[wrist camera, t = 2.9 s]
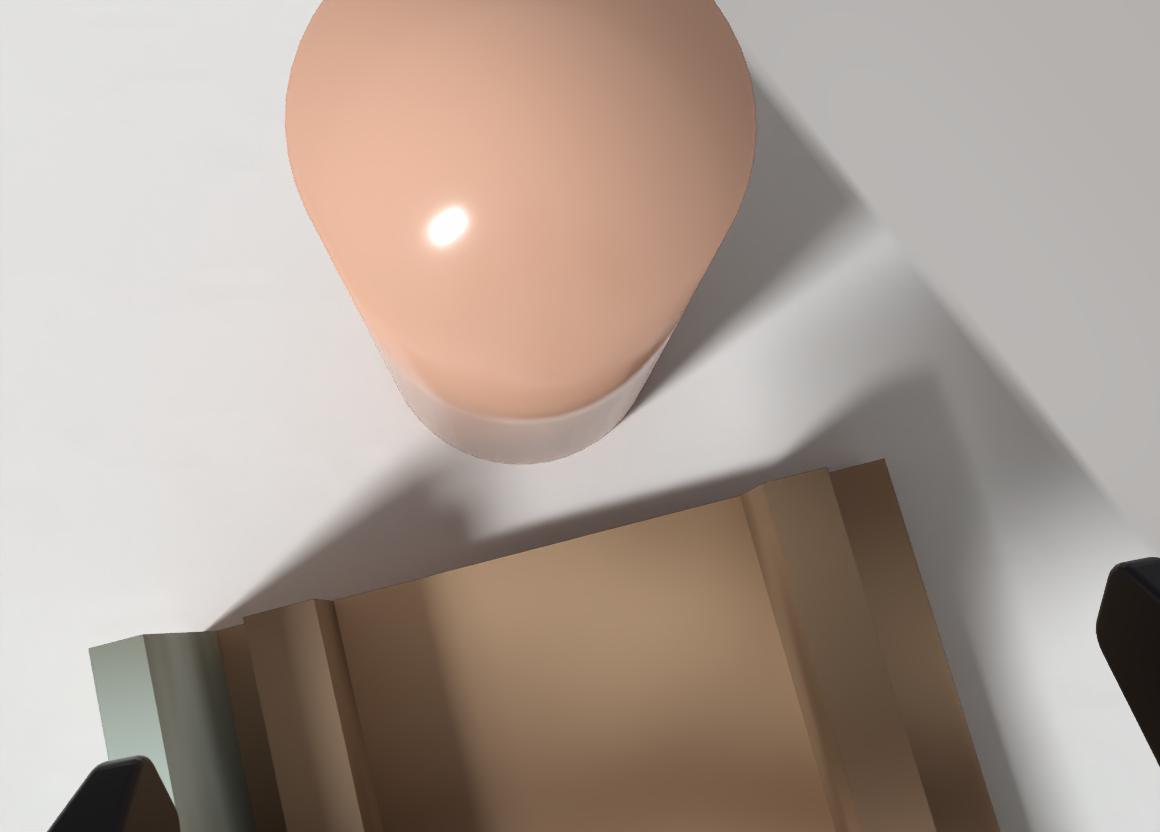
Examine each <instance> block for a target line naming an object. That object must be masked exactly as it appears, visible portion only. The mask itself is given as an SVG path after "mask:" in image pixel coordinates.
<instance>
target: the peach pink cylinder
mask: <svg viewBox="0 0 1160 832" xmlns="http://www.w3.org/2000/svg"><path fill="white" fill-rule="evenodd" d="M285 131H286V140H287V150H288V157H289V161H290V165H291V169H292V173H293V177H294V181H295V184H296V187H297V189H298V192H299V194H300V197H301V199H302V201H303V204H304V206H305V209H306V211H307V213H308V215H309V217H310V219H311V221H312V223H313V225H314V227H315V229H316V231H317V233H318V234H319V236H320V238H321V240H322V242H323V244H324V246H325V248H326V250H327V252H328V254H329V256H330V258H331V260H332V261H333V263H334V265H335V267H336V269H337V271H338V273H339V275H340V277H341V279H342V281H343V283H344V285H345V287H346V288H347V290H348V292H349V294H350V296H351V298H352V300H353V302H354V304H355V306H356V308H357V310H358V312H359V313H360V315H361V317H362V319H363V321H364V323H365V325H366V327H367V329H368V331H369V333H370V335H371V337H372V339H373V340H374V342H375V344H376V346H377V348H378V350H379V352H380V354H381V356H382V358H383V360H384V362H385V364H386V366H387V367H388V369H389V371H390V373H391V375H392V377H393V379H394V381H395V383H396V385H397V387H398V389H399V391H400V392H401V394H402V396H403V397H404V399H405V401H406V403H407V404H408V406H409V407H410V408H411V410H412V411H413V412H414V414H415V415H416V416H417V417H418V419H419V420H420V421H421V422H422V423H423V424H424V425H425V426H426V427H427V428H428V429H429V430H430V431H431V432H433V433H434V434H435V435H437V436H438V437H439V438H441V439H442V440H443V441H445V442H446V443H448V444H450V445H451V446H453V447H455V448H457V449H458V450H460V451H462V452H465V453H467V454H470V455H472V456H475V457H477V458H481V459H485V460H489V461H493V462H498V463H506V464H535V463H543V462H549V461H553V460H556V459H560V458H564V457H567V456H569V455H572V454H574V453H576V452H579V451H581V450H583V449H585V448H586V447H588V446H590V445H592V444H593V443H595V442H597V441H598V440H599V439H601V438H602V437H603V436H605V435H606V434H607V433H608V432H610V431H611V430H612V429H613V428H614V427H615V426H616V425H617V424H618V423H619V422H620V421H621V420H622V419H623V418H624V416H625V415H626V414H627V412H628V411H629V410H630V408H631V407H632V406H633V404H634V402H635V401H636V399H637V397H638V395H639V393H640V392H641V390H642V388H643V386H644V384H645V383H646V381H647V379H648V377H649V375H650V373H651V371H652V370H653V368H654V366H655V364H656V362H657V360H658V359H659V357H660V355H661V353H662V351H663V349H664V348H665V346H666V344H667V342H668V340H669V338H670V337H671V335H672V333H673V331H674V329H675V327H676V325H677V324H678V322H679V320H680V318H681V316H682V314H683V313H684V311H685V309H686V307H687V305H688V303H689V302H690V300H691V298H692V296H693V294H694V292H695V291H696V289H697V287H698V285H699V283H700V281H701V279H702V278H703V276H704V274H705V272H706V270H707V268H708V267H709V265H710V263H711V261H712V259H713V257H714V256H715V254H716V252H717V250H718V248H719V246H720V244H721V243H722V241H723V239H724V237H725V235H726V233H727V232H728V230H729V228H730V226H731V224H732V222H733V221H734V219H735V217H736V215H737V213H738V210H739V208H740V205H741V202H742V200H743V197H744V195H745V192H746V190H747V187H748V183H749V178H750V174H751V170H752V165H753V161H754V153H755V142H756V111H755V100H754V94H753V89H752V84H751V78H750V74H749V71H748V68H747V65H746V62H745V59H744V56H743V53H742V50H741V47H740V45H739V43H738V41H737V39H736V37H735V35H734V33H733V31H732V29H731V27H730V25H729V23H728V21H727V20H726V18H725V17H724V15H723V13H722V12H721V10H720V9H719V7H718V6H717V5H716V3H715V1H714V0H323V2H322V3H321V4H320V6H319V7H318V9H317V10H316V12H315V13H314V15H313V17H312V19H311V21H310V23H309V25H308V27H307V29H306V31H305V33H304V35H303V37H302V39H301V41H300V44H299V47H298V50H297V53H296V56H295V59H294V62H293V65H292V68H291V73H290V78H289V84H288V89H287V95H286V112H285Z"/></svg>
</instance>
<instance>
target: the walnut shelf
mask: <svg viewBox="0 0 1160 832" xmlns="http://www.w3.org/2000/svg"><path fill="white" fill-rule="evenodd" d="M243 619H244V624H242V625H238V626H234V627H230V628H227V629H223V630H219V631H210V632H188V633H166V634H144V635H139V636H135V637H131V638H127V639H124V640H120V641H116V642H112V643H108V644H104V645H100V646H96V647H92V648H89V654H90V660H91V665H92V671H93V676H94V682H95V687H96V693H97V699H98V704H99V710H100V715H101V721H102V726H103V732H104V737H105V743H106V748H107V754H108V760H109V761H111V760H116V759H121V758H126V757H131V756H136V755H144V756H146V757H148V758H149V759H150V760H151V761H152V763H153V764H154V766H155V768H156V770H157V772H158V774H159V776H160V778H161V780H162V782H163V784H164V786H165V788H166V790H167V792H168V794H169V795H170V797H171V799H172V801H173V803H174V805H175V808H176V810H177V813H178V817H179V822H180V831H181V832H1000V830H999V826H998V823H997V820H996V817H995V814H994V810H993V807H992V804H991V801H990V797H989V794H988V791H987V788H986V785H985V781H984V778H983V775H982V772H981V768H980V765H979V762H978V759H977V756H976V752H975V749H974V746H973V743H972V740H971V736H970V733H969V730H968V727H967V723H966V720H965V717H964V714H963V711H962V707H961V704H960V701H959V698H958V694H957V691H956V688H955V685H954V682H953V678H952V675H951V672H950V669H949V665H948V662H947V659H946V656H945V653H944V649H943V646H942V643H941V640H940V636H939V633H938V630H937V627H936V624H935V620H934V617H933V614H932V611H931V607H930V604H929V601H928V598H927V595H926V591H925V588H924V585H923V582H922V578H921V575H920V572H919V569H918V566H917V562H916V559H915V556H914V553H913V549H912V546H911V543H910V540H909V537H908V533H907V530H906V527H905V524H904V520H903V517H902V514H901V511H900V508H899V504H898V501H897V498H896V495H895V492H894V488H893V485H892V482H891V479H890V475H889V472H888V469H887V466H886V463H885V459H881V460H877V461H873V462H869V463H865V464H861V465H857V466H853V467H850V468H846V469H842V470H838V471H834V472H830V473H828V469H827V467H824V468H820V469H817V470H813V471H809V472H805V473H801V474H797V475H793V476H789V477H785V478H782V479H778V480H774V481H770V482H766V483H762V484H761V485H759V486H757V487H755V488H753V489H751V490H750V491H748V492H746V493H744V494H742V495H740V496H737V497H733V498H730V499H726V500H722V501H718V502H714V503H710V504H706V505H703V506H699V507H695V508H691V509H687V510H683V511H679V512H675V513H672V514H668V515H664V516H660V517H656V518H652V519H648V520H644V521H641V522H637V523H633V524H629V525H625V526H621V527H617V528H614V529H610V530H606V531H602V532H598V533H594V534H590V535H586V536H583V537H579V538H575V539H571V540H567V541H563V542H559V543H555V544H552V545H548V546H544V547H540V548H536V549H532V550H528V551H525V552H521V553H517V554H513V555H509V556H505V557H501V558H497V559H494V560H490V561H486V562H482V563H478V564H474V565H470V566H466V567H463V568H459V569H455V570H451V571H447V572H443V573H439V574H436V575H432V576H428V577H424V578H420V579H416V580H412V581H408V582H405V583H401V584H397V585H393V586H389V587H385V588H381V589H377V590H374V591H370V592H366V593H362V594H358V595H354V596H350V597H347V598H343V599H339V600H335V601H330V600H319V599H312V600H308V601H304V602H301V603H297V604H293V605H289V606H285V607H281V608H277V609H273V610H270V611H266V612H262V613H258V614H254V615H250V616H246V617H243Z"/></svg>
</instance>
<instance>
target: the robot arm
mask: <svg viewBox="0 0 1160 832" xmlns="http://www.w3.org/2000/svg"><path fill="white" fill-rule="evenodd" d="M1096 634H1097V639H1098V643H1099V646H1100V648H1101V650H1102V653H1103V655H1104V657H1105V659H1106V661H1107V663H1108V665H1109V667H1110V669H1111V671H1112V673H1113V675H1114V676H1115V678H1116V680H1117V682H1118V684H1119V686H1120V688H1121V690H1122V692H1123V694H1124V696H1125V698H1126V700H1127V702H1128V704H1129V706H1130V708H1131V710H1132V712H1133V714H1134V716H1135V718H1136V720H1137V722H1138V724H1139V726H1140V728H1141V730H1142V732H1143V734H1144V736H1145V738H1146V740H1147V742H1148V744H1149V746H1150V748H1151V750H1152V752H1153V754H1154V756H1155V758H1156V760H1157V762H1158V764H1159V766H1160V558H1158V557H1148V558H1143V559H1138V560H1133V561H1127V562H1122V563H1119V564H1117V565H1115V566H1114V567H1113V569H1112V570H1111V571H1110V573H1109V576H1108V580H1107V583H1106V587H1105V591H1104V595H1103V599H1102V602H1101V606H1100V610H1099V614H1098V617H1097V622H1096ZM47 832H181V831H180V822H179V817H178V813H177V810H176V808H175V805H174V803H173V801H172V799H171V797H170V795H169V794H168V792H167V790H166V788H165V786H164V784H163V782H162V780H161V778H160V776H159V774H158V772H157V770H156V768H155V766H154V764H153V763H152V761H151V760H150V759H149V758H148V757H146V756H144V755H136V756H131V757H126V758H121V759H116V760H111V761H106V762H103V763H101V764H99V765H98V766H97V767H95V768H94V769H93V770H92V771H91V773H90V774H89V775H88V776H87V778H86V779H85V781H84V782H83V783H82V785H81V786H80V787H79V789H78V790H77V792H76V793H75V794H74V796H73V797H72V798H71V800H70V801H69V802H68V804H67V805H66V807H65V808H64V809H63V811H62V812H61V813H60V815H59V816H58V817H57V819H56V820H55V822H54V823H53V824H52V826H51V827H50V828H49V830H48V831H47Z"/></svg>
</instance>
